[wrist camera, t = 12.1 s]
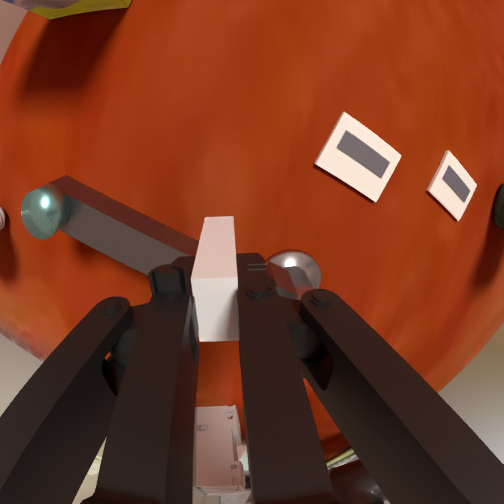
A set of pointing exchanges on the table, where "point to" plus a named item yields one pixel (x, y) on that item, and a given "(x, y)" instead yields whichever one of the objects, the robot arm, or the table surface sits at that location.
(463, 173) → the label plate
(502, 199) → the coffee jar
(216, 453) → the circuit breaker
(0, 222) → the light bulb
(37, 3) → the box
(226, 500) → the crt monitor
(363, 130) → the label plate
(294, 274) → the post
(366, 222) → the table surface
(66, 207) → the swing bar
